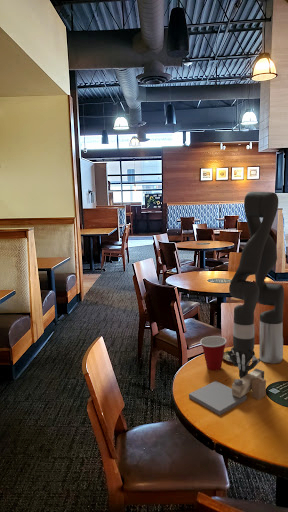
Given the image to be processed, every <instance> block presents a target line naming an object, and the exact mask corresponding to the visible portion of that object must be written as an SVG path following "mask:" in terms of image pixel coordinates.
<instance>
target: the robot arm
mask: <svg viewBox="0 0 288 512" xmlns="http://www.w3.org/2000/svg"><path fill="white" fill-rule="evenodd" d="M243 209H244V215H245V218H246V219H245V220H246V223H247V227H248V233H249V239H248V240H247V241H246V243H245V244H244V246H243V247H242V251H241V255H240V259H239V263H238V264H239V265H238V267H237V268H236V271H235V272H234V275H233V277H232V278H231V281H230V283H229V287H228V288H229V289H228V291H229V294H230V296H231V298H234V299H238V300H242V301H243V304H238V305H236V306H235V307H234V309H233V326H232V345H233V346H234V347H233V346H232V347H233V350H231V349H230V350H228V351H229V352H228V355H229V357H230V358H231V360H232V362H231V363H232V364H233V366H234V367H235V368H238V376H239V379H241V378H242V377H244V376H246V375H247V374H249V372H250V371H251V370H253V369H255V367H256V366H257V365H258V364H259V363H260V362H263V363H267V364H280V363H282V362H283V359H284V337H283V328H284V326H283V322H284V303H285V302H284V299H285V288H284V286H283V285H282V284H279V283H267V282H266V281H265V279H266V278H267V276H268V274H269V273H270V272H271V271H272V269H273V268H274V267H275V265H276V263H277V260H278V254H277V253H278V251H277V245H276V242H275V240H274V239H273V237H272V236H271V235H270V232H271V229H272V227H273V224H274V221H275V218H276V215H277V213H278V209H279V195H277V193H275V192H272V191H271V192H270V191H249V192H247V193H246V194H245V196H244V200H243ZM261 219H262V220H261ZM249 276H255V277H254V279H255V282H254V281H252V280H247V279H248V278H249ZM257 304H259V305H261V306H262V305H264V306H271V307H273V306H274V308H272V309H270V310H269V309H268V310H267V311H266V310H265V311H262V312H261V313H260V314H259V345H258V346H259V351H258V353H259V354H258V356H259V358H257V356H256V352H255V335H256V334H255V310H256V306H257ZM235 360H236V361H235ZM236 362H237V363H236Z"/></svg>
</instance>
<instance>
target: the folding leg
mask: <svg viewBox="0 0 288 512" xmlns="http://www.w3.org/2000/svg"><path fill="white" fill-rule="evenodd" d="M257 377H260V378H262V379H265V371H264V370H262V369H259V368H254V370H253V371H251V372H248V374H247V375H246V376H244V377H242V378H241V379H240V378H237V379H234V381H233V383H231V388H232V395H234V396H236V397H238V398H240V397H242V396H243V395H247V394H248V393H249V392H252V380H253V379H255V378H257Z"/></svg>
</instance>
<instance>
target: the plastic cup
mask: <svg viewBox="0 0 288 512" xmlns="http://www.w3.org/2000/svg"><path fill="white" fill-rule="evenodd" d="M199 343H200V345H201V347H202V350H203V355H204V360H205V364H206V368H207V369H208V370H210V371H219V370H221V369H222V366H223V365H222V364H223V360H224V359H223V354H224V352H225V348H226V344H227V339H226V338H225V337H222V336H218V335H211V336H205V337H202V338H201V339H200V340H199Z"/></svg>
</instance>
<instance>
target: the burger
mask: <svg viewBox="0 0 288 512" xmlns="http://www.w3.org/2000/svg"><path fill="white" fill-rule="evenodd" d="M233 347H234V346H231V348H230V350H233ZM230 350H226V351H224V354H223V360H225V361H227V362H229V363H233V362H232V360H231V358H230V357H229V355H228V352H229V351H230ZM235 361H236V360H235ZM236 363H237V362H236Z"/></svg>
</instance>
